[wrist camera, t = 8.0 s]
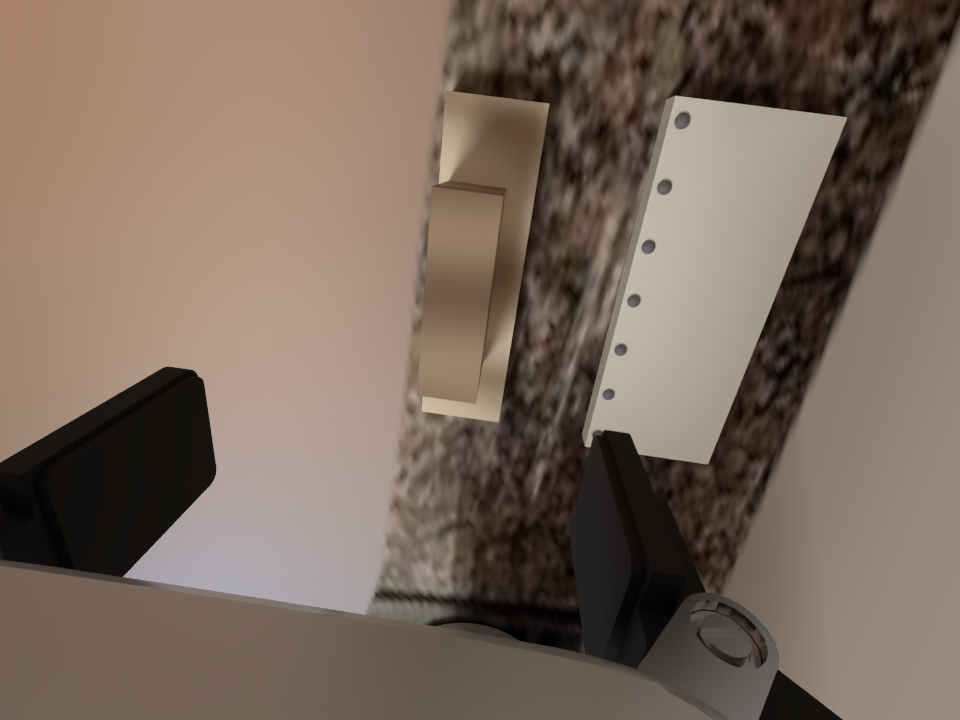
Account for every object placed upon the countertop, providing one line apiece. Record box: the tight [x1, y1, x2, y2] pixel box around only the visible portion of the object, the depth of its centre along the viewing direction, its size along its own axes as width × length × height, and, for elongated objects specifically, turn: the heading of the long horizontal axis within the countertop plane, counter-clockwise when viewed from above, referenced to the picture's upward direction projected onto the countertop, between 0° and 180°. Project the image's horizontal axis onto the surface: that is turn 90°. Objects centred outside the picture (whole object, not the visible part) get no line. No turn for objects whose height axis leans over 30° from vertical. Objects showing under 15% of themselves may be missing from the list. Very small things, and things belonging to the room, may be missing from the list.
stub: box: [417, 91, 549, 422], centre depth 24 cm, size 18×5×6 cm, turn 173°
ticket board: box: [582, 96, 847, 464], centre depth 26 cm, size 20×8×2 cm, turn 173°
